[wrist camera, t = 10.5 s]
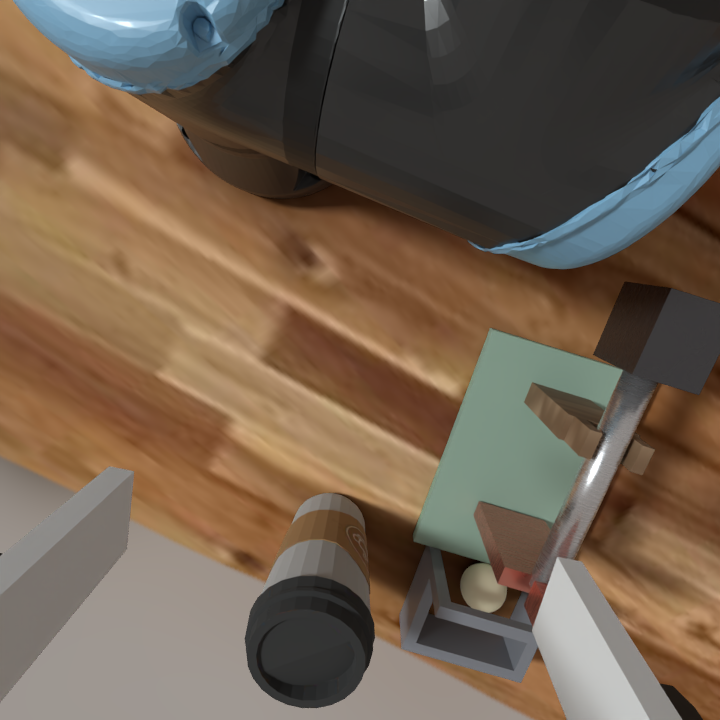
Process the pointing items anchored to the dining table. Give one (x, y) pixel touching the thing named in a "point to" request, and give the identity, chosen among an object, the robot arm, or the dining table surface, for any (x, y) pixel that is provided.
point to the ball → (482, 588)
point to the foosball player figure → (581, 425)
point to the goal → (463, 627)
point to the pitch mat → (507, 442)
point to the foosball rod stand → (608, 427)
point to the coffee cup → (314, 608)
